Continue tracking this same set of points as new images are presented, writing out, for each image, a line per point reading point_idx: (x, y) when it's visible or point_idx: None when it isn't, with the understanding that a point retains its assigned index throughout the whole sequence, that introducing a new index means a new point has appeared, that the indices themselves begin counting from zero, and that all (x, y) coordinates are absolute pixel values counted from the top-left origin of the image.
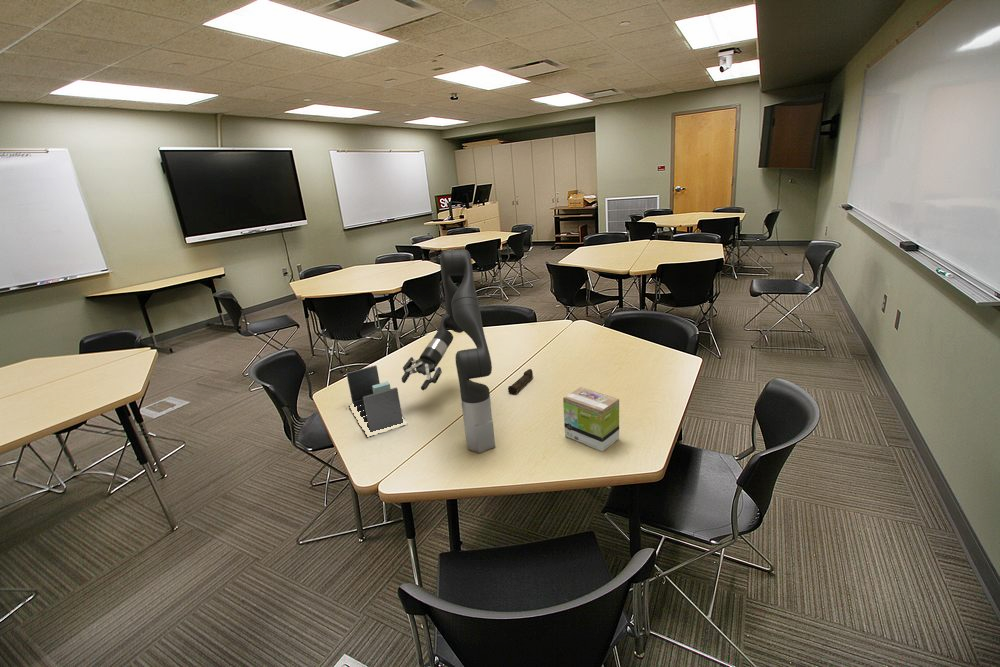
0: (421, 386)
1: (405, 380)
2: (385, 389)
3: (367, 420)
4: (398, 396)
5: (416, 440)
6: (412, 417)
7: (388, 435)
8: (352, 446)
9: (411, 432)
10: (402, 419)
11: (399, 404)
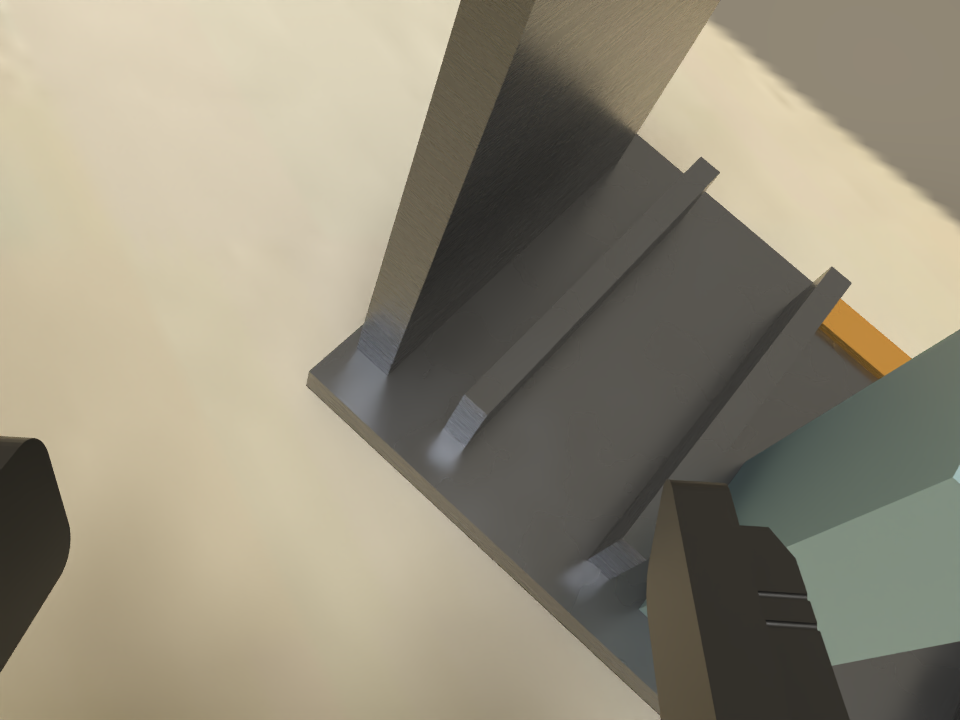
0: (12, 442)
1: (660, 621)
2: (925, 432)
3: (788, 309)
4: (436, 85)
5: (42, 90)
6: (340, 580)
7: None
8: None
9: (177, 232)
10: (366, 323)
11: (410, 184)
